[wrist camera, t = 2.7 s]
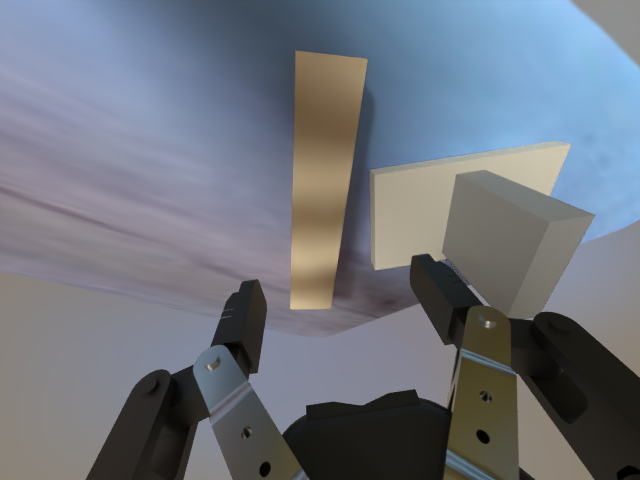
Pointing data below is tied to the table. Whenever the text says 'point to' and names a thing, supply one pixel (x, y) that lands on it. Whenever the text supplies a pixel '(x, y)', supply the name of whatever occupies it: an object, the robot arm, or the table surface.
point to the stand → (481, 221)
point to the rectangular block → (322, 169)
